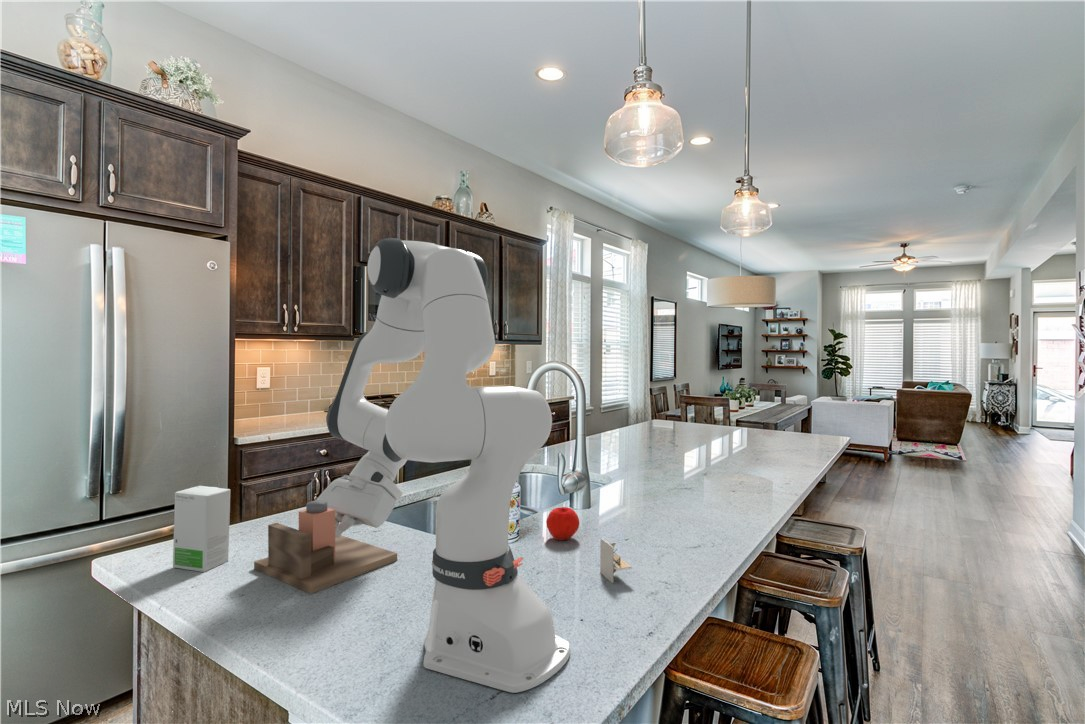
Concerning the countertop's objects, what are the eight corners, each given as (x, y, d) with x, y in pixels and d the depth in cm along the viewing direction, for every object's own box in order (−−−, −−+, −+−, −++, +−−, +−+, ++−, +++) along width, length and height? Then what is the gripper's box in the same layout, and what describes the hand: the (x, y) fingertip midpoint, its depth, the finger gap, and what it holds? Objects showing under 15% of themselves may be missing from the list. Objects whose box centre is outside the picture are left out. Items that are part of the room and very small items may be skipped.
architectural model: (615, 572, 113) (615, 536, 113) (631, 585, 106) (631, 547, 106) (599, 574, 112) (600, 537, 111) (615, 588, 105) (615, 549, 105)
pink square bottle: (335, 558, 114) (335, 502, 113) (313, 565, 109) (312, 507, 109) (321, 553, 116) (320, 498, 116) (298, 560, 112) (298, 503, 112)
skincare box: (171, 568, 112) (171, 492, 112) (199, 556, 119) (198, 484, 119) (205, 572, 110) (205, 495, 110) (231, 560, 117) (231, 487, 117)
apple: (566, 547, 126) (566, 514, 126) (539, 539, 131) (539, 508, 130) (585, 537, 132) (585, 506, 132) (558, 531, 137) (558, 501, 137)
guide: (397, 560, 117) (397, 515, 117) (310, 593, 101) (310, 542, 101) (340, 541, 129) (339, 500, 129) (254, 568, 112) (253, 522, 112)
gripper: (333, 466, 127) (293, 519, 119) (391, 478, 115) (351, 537, 108) (349, 482, 131) (312, 534, 123) (408, 495, 119) (370, 553, 111)
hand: (331, 535), depth 115 cm, fingers closed, pressing on pink square bottle
